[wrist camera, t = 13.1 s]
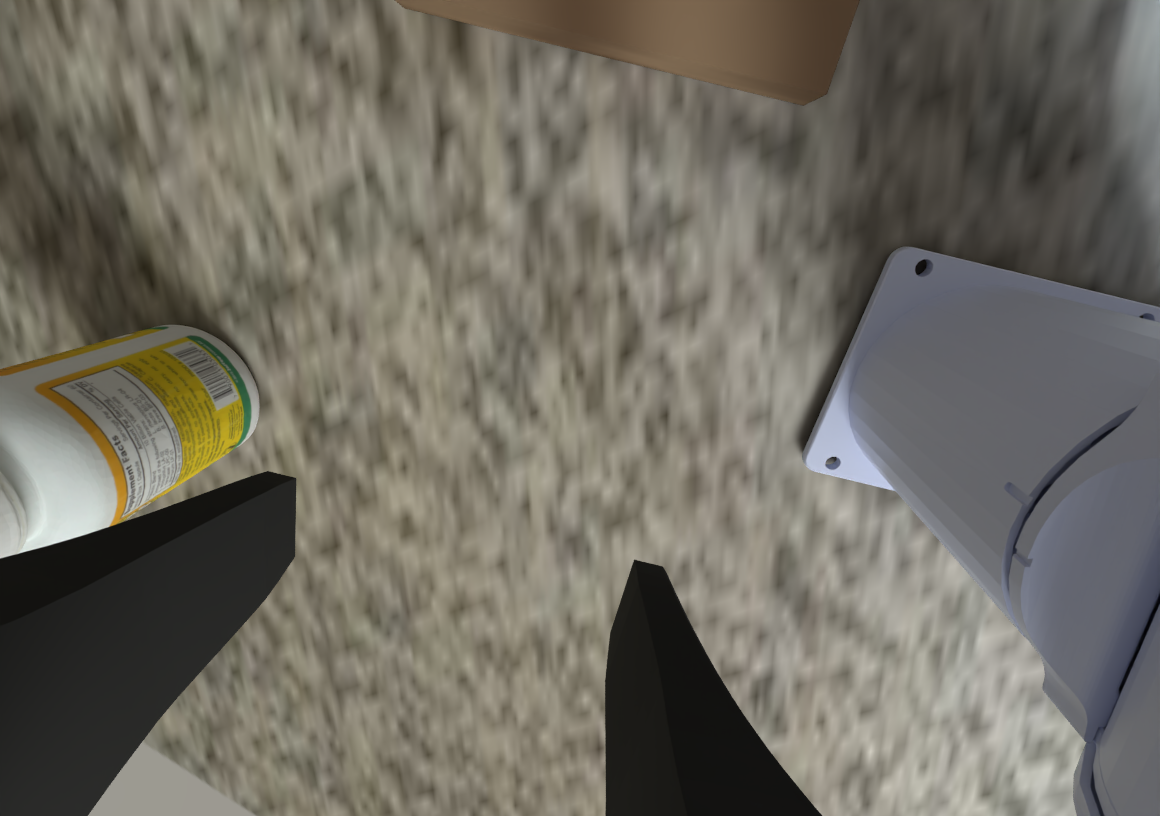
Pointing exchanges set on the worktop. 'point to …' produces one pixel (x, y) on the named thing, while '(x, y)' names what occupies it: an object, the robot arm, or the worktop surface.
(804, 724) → the worktop surface
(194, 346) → the supplement bottle
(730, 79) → the walnut plinth
